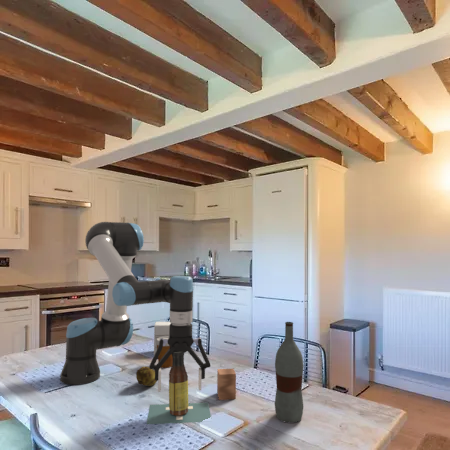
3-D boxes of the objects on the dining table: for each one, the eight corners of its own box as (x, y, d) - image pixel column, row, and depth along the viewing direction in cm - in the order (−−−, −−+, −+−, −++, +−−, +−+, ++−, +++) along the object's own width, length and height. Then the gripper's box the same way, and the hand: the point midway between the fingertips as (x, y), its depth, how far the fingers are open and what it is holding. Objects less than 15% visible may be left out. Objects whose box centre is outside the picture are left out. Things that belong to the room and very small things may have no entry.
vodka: (308, 421, 117) (308, 324, 119) (282, 425, 115) (282, 326, 116) (295, 409, 126) (295, 319, 128) (269, 412, 124) (270, 320, 125)
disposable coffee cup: (174, 369, 165) (175, 341, 166) (153, 369, 165) (153, 341, 166) (177, 362, 175) (178, 336, 175) (157, 362, 175) (157, 336, 176)
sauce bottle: (191, 410, 124) (192, 349, 125) (183, 418, 118) (184, 354, 119) (173, 407, 126) (174, 347, 127) (164, 415, 120) (166, 352, 121)
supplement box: (154, 350, 194) (155, 321, 194) (172, 350, 195) (172, 321, 195) (153, 356, 185) (154, 325, 185) (171, 355, 186) (172, 325, 186)
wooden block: (218, 400, 133) (219, 374, 133) (217, 393, 139) (217, 369, 139) (235, 399, 134) (235, 374, 134) (233, 393, 140) (233, 368, 140)
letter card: (146, 424, 114) (146, 424, 114) (149, 405, 128) (149, 404, 128) (211, 421, 116) (211, 421, 117) (208, 403, 130) (208, 402, 130)
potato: (166, 382, 150) (166, 361, 150) (146, 393, 138) (146, 371, 139) (149, 378, 153) (149, 358, 154) (128, 389, 142) (129, 367, 142)
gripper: (141, 326, 119) (140, 395, 117) (219, 325, 122) (218, 392, 120) (144, 321, 126) (142, 386, 125) (216, 320, 129) (216, 384, 128)
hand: (179, 389), depth 123 cm, fingers open, 12 cm apart
